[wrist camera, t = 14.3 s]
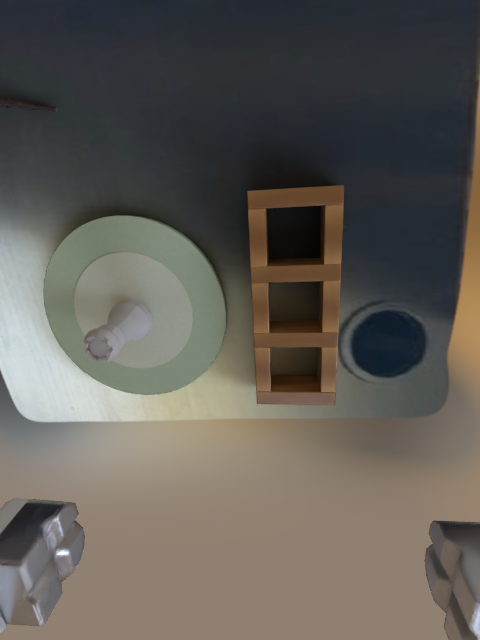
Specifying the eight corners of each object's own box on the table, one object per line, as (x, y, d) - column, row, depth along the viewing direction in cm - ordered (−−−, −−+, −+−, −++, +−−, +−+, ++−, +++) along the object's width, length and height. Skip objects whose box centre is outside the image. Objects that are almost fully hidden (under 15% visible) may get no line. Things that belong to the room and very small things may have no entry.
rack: (250, 190, 33) (247, 190, 30) (338, 185, 32) (344, 184, 29) (259, 386, 40) (256, 404, 37) (330, 387, 39) (335, 405, 36)
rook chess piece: (123, 290, 36) (82, 315, 29) (161, 312, 37) (130, 343, 29) (107, 323, 38) (64, 356, 31) (143, 345, 38) (109, 382, 31)
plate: (30, 219, 36) (21, 220, 35) (220, 209, 34) (218, 209, 33) (71, 388, 43) (65, 394, 42) (233, 390, 41) (231, 396, 39)
